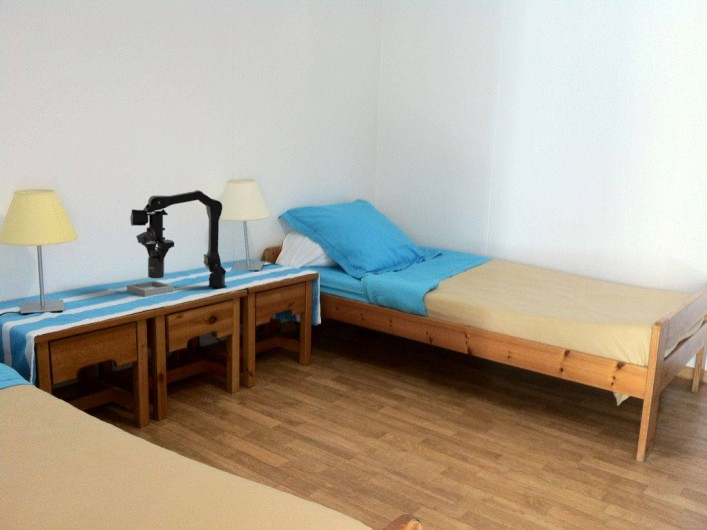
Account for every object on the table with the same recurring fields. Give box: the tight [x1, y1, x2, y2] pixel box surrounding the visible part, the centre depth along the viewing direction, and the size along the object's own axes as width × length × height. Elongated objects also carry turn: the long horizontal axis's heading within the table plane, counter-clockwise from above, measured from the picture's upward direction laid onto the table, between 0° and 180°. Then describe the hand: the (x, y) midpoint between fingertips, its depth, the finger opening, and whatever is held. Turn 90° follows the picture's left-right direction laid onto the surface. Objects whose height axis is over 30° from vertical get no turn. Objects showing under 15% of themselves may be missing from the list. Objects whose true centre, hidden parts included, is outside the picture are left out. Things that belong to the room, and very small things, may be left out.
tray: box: [126, 280, 174, 297], centre depth 299 cm, size 14×14×3 cm
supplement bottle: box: [147, 248, 165, 279], centre depth 297 cm, size 7×7×12 cm
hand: (156, 261), depth 297 cm, fingers closed on supplement bottle, 7 cm apart
